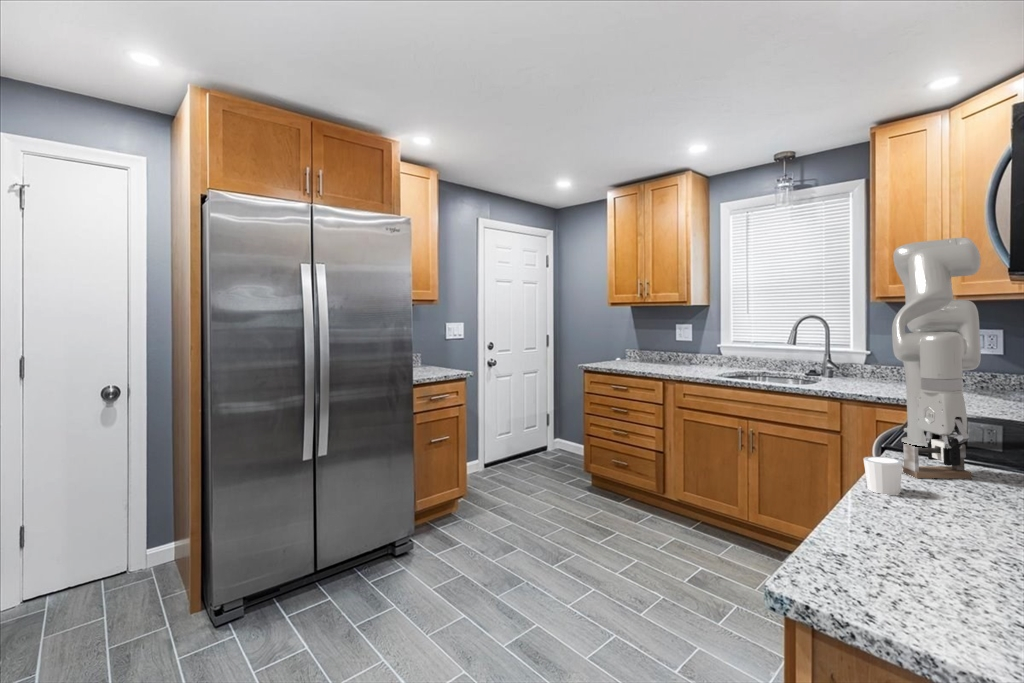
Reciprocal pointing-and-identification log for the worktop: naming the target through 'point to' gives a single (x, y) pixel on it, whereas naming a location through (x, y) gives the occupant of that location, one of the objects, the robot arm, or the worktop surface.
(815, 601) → the worktop surface
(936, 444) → the sleeve
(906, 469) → the wooden stand
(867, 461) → the shot glass
